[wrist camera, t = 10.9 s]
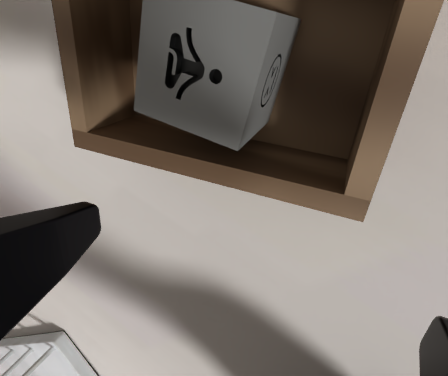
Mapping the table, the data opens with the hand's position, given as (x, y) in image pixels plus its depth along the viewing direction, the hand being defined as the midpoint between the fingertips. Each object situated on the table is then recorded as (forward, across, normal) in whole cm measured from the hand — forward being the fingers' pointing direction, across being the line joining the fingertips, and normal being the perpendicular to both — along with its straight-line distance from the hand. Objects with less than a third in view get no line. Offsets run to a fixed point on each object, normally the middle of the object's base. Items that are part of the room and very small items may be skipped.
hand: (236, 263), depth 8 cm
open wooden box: (+11, +4, -4) cm, 12 cm away
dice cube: (+10, +4, -4) cm, 12 cm away
